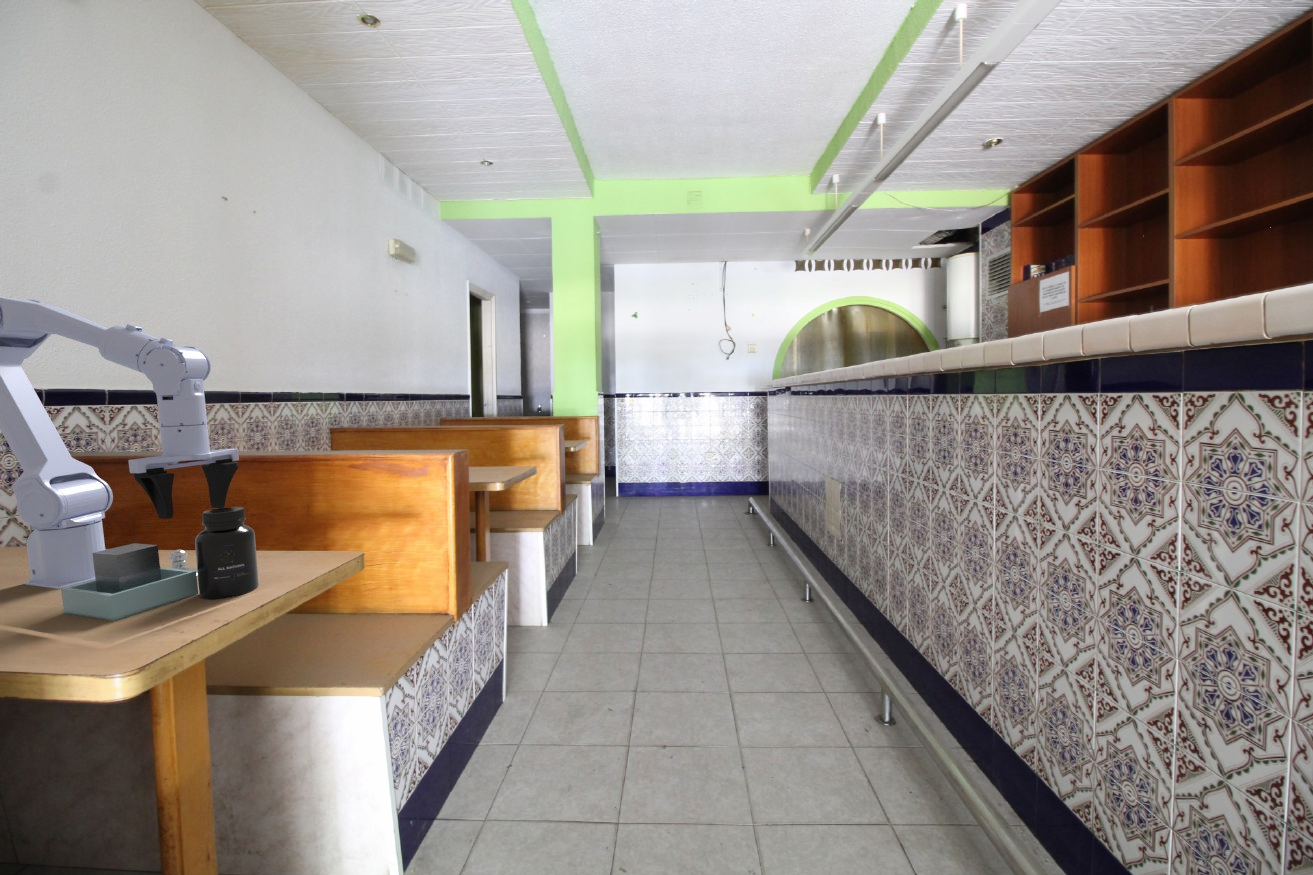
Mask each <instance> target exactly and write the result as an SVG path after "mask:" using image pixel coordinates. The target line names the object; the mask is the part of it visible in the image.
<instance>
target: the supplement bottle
mask: <svg viewBox="0 0 1313 875" xmlns="http://www.w3.org/2000/svg"><path fill="white" fill-rule="evenodd" d="M201 516H202V523H201V525H202V526H203V527H204V530H202V531H200V532H199V533H198V534H196V535H197V536H196V537H195V539H194V546H195V557H196V568H197V572H198V575H197V585H198V595H199V597H200V599H203V600H206V601H208V600H209V601H210V600H211V601H212V600H224V599H229V598H235V597H239V596H243V595H245V594H248V593H252V592H254V591H255V590H257V589H258V587H259V574H258V573H259V572H258V560H257V545H256V535H255V534H256V533H255V530H254V529H253V527H250V526H249V525H247V524H245V522H246V519H247V518H246V514H245V508H244V507H243V506H242V507H241V506H231V507H224V508H212V509H208V510H205V511H203V512H202V513H201Z"/></svg>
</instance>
